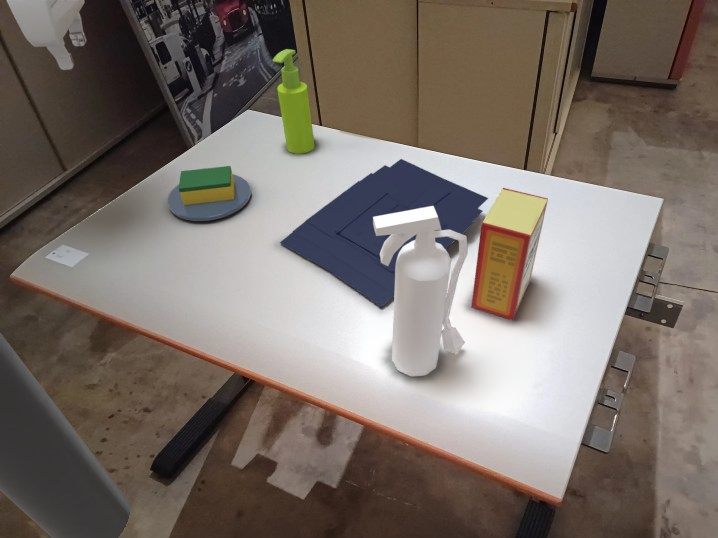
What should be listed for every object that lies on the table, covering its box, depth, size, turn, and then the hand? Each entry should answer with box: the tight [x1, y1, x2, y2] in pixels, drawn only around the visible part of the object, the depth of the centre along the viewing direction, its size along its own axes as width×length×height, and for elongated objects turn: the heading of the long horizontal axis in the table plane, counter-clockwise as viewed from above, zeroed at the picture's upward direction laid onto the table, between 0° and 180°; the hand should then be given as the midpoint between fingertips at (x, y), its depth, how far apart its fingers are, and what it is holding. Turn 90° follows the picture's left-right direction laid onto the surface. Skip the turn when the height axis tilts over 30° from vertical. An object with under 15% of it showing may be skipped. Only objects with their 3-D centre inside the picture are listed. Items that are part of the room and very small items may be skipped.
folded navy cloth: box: [279, 158, 489, 308], centre depth 96 cm, size 24×30×4 cm
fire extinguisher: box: [373, 206, 468, 377], centre depth 68 cm, size 7×12×25 cm, turn 99°
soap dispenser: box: [271, 48, 316, 155], centre depth 111 cm, size 6×7×20 cm
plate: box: [167, 173, 252, 222], centre depth 104 cm, size 15×15×1 cm
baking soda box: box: [470, 187, 549, 321], centre depth 80 cm, size 10×6×16 cm
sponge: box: [178, 165, 234, 205], centre depth 102 cm, size 9×6×4 cm, turn 102°
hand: (74, 55), depth 85 cm, fingers open, 8 cm apart
